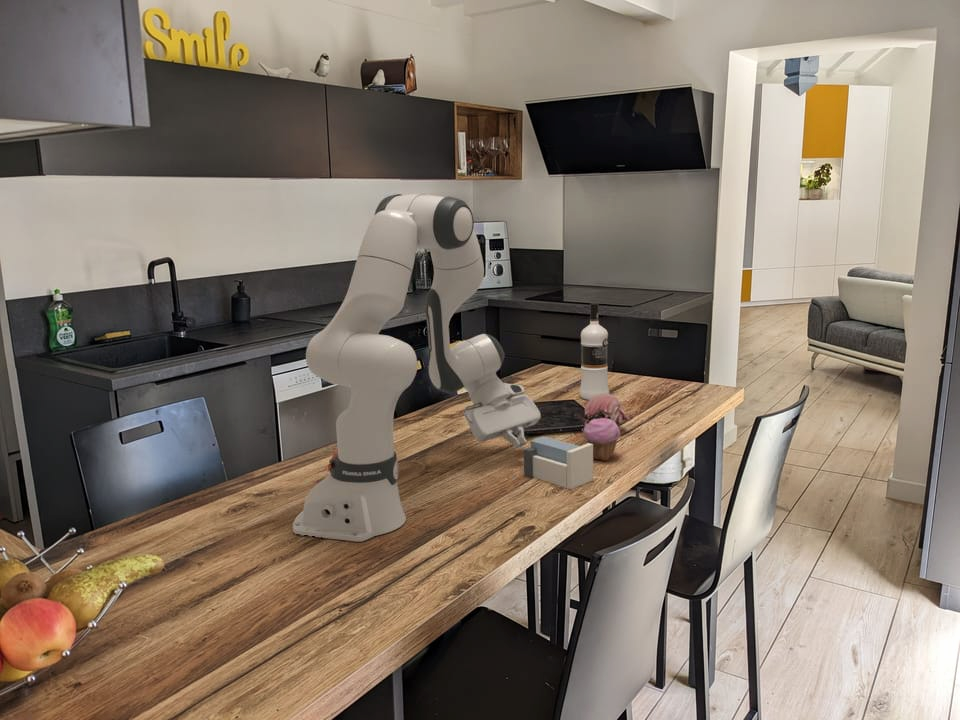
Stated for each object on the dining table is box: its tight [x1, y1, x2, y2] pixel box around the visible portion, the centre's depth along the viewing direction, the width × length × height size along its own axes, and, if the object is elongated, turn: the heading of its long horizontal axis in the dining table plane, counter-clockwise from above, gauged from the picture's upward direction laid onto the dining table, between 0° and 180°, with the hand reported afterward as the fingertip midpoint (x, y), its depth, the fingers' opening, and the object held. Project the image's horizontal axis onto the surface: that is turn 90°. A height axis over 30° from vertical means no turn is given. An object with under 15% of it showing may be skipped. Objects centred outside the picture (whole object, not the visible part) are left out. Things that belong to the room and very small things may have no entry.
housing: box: [523, 442, 594, 490], centre depth 179 cm, size 13×9×8 cm
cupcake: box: [582, 418, 621, 462], centre depth 191 cm, size 9×9×10 cm
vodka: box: [579, 302, 610, 401], centre depth 244 cm, size 9×9×30 cm
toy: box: [581, 393, 632, 427], centre depth 210 cm, size 12×11×15 cm
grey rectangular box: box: [530, 436, 581, 464], centre depth 179 cm, size 12×4×8 cm, turn 44°
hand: (521, 445), depth 187 cm, fingers closed
